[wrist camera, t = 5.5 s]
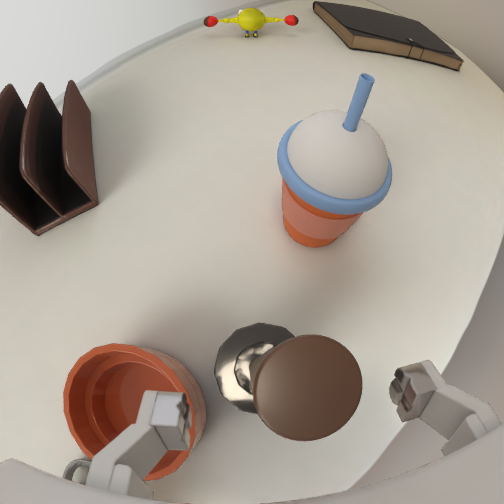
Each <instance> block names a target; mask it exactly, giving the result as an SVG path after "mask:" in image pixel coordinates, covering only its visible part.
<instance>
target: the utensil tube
mask: <svg viewBox="0 0 504 504" xmlns="http://www.w3.org/2000/svg"><path fill="white" fill-rule="evenodd" d="M293 337H295V336H294V335H293V334H292V333H290V332H289V331H288V330H287V329H286V328H283V327H281V326H275V325H270V324H265V323H256V324H253V325H250V326H247V327H244V328H240V329H237V330H236V331H235V332H234V333H233V334H232V335H231V336H230V337H229V338H228V339H227V340H226V341H225V342H224V343H223V344H222V345H221V346H220V348H219V351H218V355H217V360H216V364H215V369H214V371H215V372H214V373H215V376H216V379H217V382H218V385H219V388H220V391H221V394H222V395H223V396H224V397H225V398H226V399H227V400H228V401H230V402H231V403H232V404H233V405H234V406H235V407H237V408H238V409H239V410H241V411H245V412H250V413H255V414H258V413H257V410H256V408H255V405H254V401H253V394H252V387H251V380H250V373H249V364H250V362H251V361H252V360H254V359H256V358H257V357H259V356H261V355H262V354H264V353H265V352H267V351H269V350H270V349H272V348H274V347H275V346H277V345H278V344H280V343H282V342H284V341H286V340H288V339H290V338H293Z"/></svg>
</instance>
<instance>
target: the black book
mask: <svg viewBox="0 0 504 504" xmlns="http://www.w3.org/2000/svg"><path fill="white" fill-rule="evenodd" d="M313 10H314V12H315V13H316V14H317V15H318V16H319V17H320V18H321V19H322V20H323V21H324V22H325V23H326V24H327V25H328V26H329V27H330V28H331V29H332V30H333V31H334V32H335V33H336V34H337V35H338V36H339V37H340V38H341V39H342V41H343V42H344V43H345V44H346V45H347V46H348V47H349V48H350V49H356V50H364V51H372V52H378V53H385V54H390V55H396V56H401V57H406V58H407V59H408V58H411V59H415V60H418V61H419V60H420V61H424V62H428V63H432V64H436V65H440V66H443V67H447V68H450V69H453V70H457V71H459V69H460V67H461V65H462V62H464V61H463V60H462V59H461V58H460V57H459V56H458V55H457V54H456V53H455V52H454V51H453V50H452V49H451V48H450V47H449V46H448V45H447V44H446V43H445V42H443V41H442V40H441V39H440V38H439V37H438V36H436V35H435V34H434V33H433V32H431V31H430V30H429V29H428V28H427V27H425V26H424V25H423V24H421V23H420V22H418V21H415V20H412V19H408V18H405V17H401V16H397V15H394V14H389V13H385V12H381V11H376V10H372V9H367V8H361V7H356V6H349V5H343V4H336V3H327V2H318V1H315V2H314V3H313Z"/></svg>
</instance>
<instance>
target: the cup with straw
mask: <svg viewBox="0 0 504 504" xmlns="http://www.w3.org/2000/svg"><path fill="white" fill-rule="evenodd" d="M373 83H374V78H373V77H372V76H370V75H368V74H361V75H360V77H359V80H358V83H357V86H356V89H355V92H354V95H353V98H352V101H351V104H350V107H349V110H348V112H344V111H337V110H329V111H322V112H318V113H315V114H313V115H311V116H309V117H307V118H306V119H304V120H301V121H299V122H297V123H296V124H294V125H293V126H291V127H290V128H289V129H288V130H287V131H286V133H285V134H284V135H283V137H282V139H281V141H280V143H279V147H278V153H277V160H278V166H279V170H280V172H281V175H282V208H283V220H284V225H285V228H286V230H287V232H288V233H289V235H290V236H291V237H292V238H293V239H294V240H295V241H297V242H298V243H300V244H302V245H305V246H308V247H322V246H326V245H328V244H330V243H331V242H333V241H334V240H335V239H336V238H337V237H338V236H339V235H341V234H343V233H344V232H345V231H346V230H347V229H348V228H349V227H350V226H351V225H352V224H353V223H354V222H355V221H356V220H357V219H358V218H359V217H360V216H361V215H362V214H363V213H364V212H365V211H368V210H370V209H372V208H373V207H375V206H377V205H378V204H379V203H380V202H381V201H382V200H383V199H384V197H385V196H386V194H387V193H388V191H389V188H390V185H391V181H392V168H391V163H390V160H389V157H388V155H387V151H386V148H385V145H384V143H383V141H382V139H381V137H380V135H379V134H378V133H377V131H376V130H375V129H374V128H373V127H372V126H371V125H370V124H369V123H368V122H366V121H365V120H363V119H362V118H360V117H361V115H362V112H363V110H364V107H365V105H366V102H367V99H368V97H369V94H370V91H371V89H372V86H373Z"/></svg>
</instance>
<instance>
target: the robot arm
mask: <svg viewBox="0 0 504 504" xmlns="http://www.w3.org/2000/svg"><path fill="white" fill-rule="evenodd" d="M394 375H395V377H396V378H395V379H394V380H393V381H392V382H391V384H390V387H389V394H390V398H391V400H392V402H393V403H394V404H396V405H397V406H398V407H397V413H398V415H399V417H400V419H401V421H402V422H405V421H409V420H412V419H415V418H418V417H419V418H420V419H421V420H422V421H424V422H425V423H426V424H427V425H429V426H430V427H431V428H433V429H434V430H436V431H437V432H438V433H440V434H441V435H442V436H444V437H445V438H447V439H448V441H447V442H446V444H445V445H444V446H443V447H442V449H441V451H442V453H443V455H444V457H442V458H440V459H438V460H435V461H434V462H431V463H428V464H426V465H424V466H421V467H419V468H416V469H414V470H411V471H409V472H406V473H403V474H401V475H398V476H395V477H392V478H389V479H386V480H383V481H380V482H376V483H373V484H369V485H366V486H362V487H359V488H355V489H351V490H347V491H342V492H338V493H333V494H328V495H323V496H318V497H312V498H306V499H299V500H292V501H283V502H274V503H261V504H504V423H503V424H502V423H501V421H500V420H499V418H498V417H497V415H496V413H495V412H494V410H493V409H492V407H491V406H490V404H488V403H486V402H484V401H482V400H480V399H478V398H476V397H474V396H472V395H470V394H468V393H466V392H464V391H462V390H460V389H458V388H456V387H454V386H452V385H447V384H446V382H445V381H444V379H443V378H442V376H441V375H440V373H439V372H438V370H437V369H436V368H435V366H434V365H433V363H432V362H431V361H430V360H426V361H423V362H419V363H415V364H411V365H407V366H404V367H400V368H398V369H397V370H396V372H395V374H394ZM191 426H192V413H191V408H190V405H189V404H188V403H187V396H186V393H185V392H166V391H150V390H146V391H145V392H144V394H143V398H142V401H141V405H140V409H139V413H138V416H137V420H136V424H131V425H130V426H129V427H128V428H126V429H125V430H124V431H123V432H122V433H121V434H120V435H118V436H117V437H116V438H115V439H114V440H113V441H111V442H110V443H109V444H108V445H107V446H106V447H104V448H103V449H102V450H101V451H100V452H98V453H97V454H96V455H95V456H94V457H93V458H92V461H91V465H90V468H89V472H88V475H87V479H86V482H85V485H83V484H80V483H76V482H73V481H70V480H67V479H64V478H61V477H58V476H55V475H53V474H50V473H47V472H45V471H42V470H40V469H37V468H35V467H33V466H30V465H28V464H26V463H24V462H21V461H19V460H17V459H13V458H10V459H7V460H5V461H3V462H1V463H0V504H189V503H177V502H167V501H159V500H153V491H152V489H151V488H150V487H149V486H148V485H147V484H146V483H145V482H144V481H143V480H144V478H145V477H146V476H147V475H148V474H149V473H150V471H151V470H152V469H153V468H154V467H155V466H156V464H157V463H158V462H159V461H160V460H161V458H162V457H163V456H164V455H165V453H166V452H167V450H189V447H190V437H191V436H190V434H189V431H188V430H189V429H190V428H191Z"/></svg>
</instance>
